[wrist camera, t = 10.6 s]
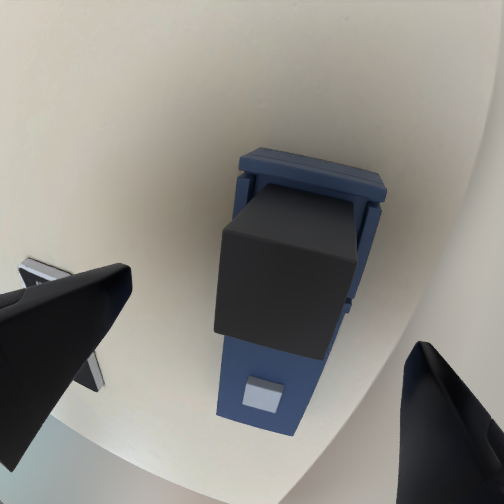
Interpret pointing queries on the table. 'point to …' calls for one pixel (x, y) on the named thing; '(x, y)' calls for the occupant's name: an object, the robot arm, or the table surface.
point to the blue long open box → (309, 370)
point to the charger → (286, 270)
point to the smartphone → (42, 273)
